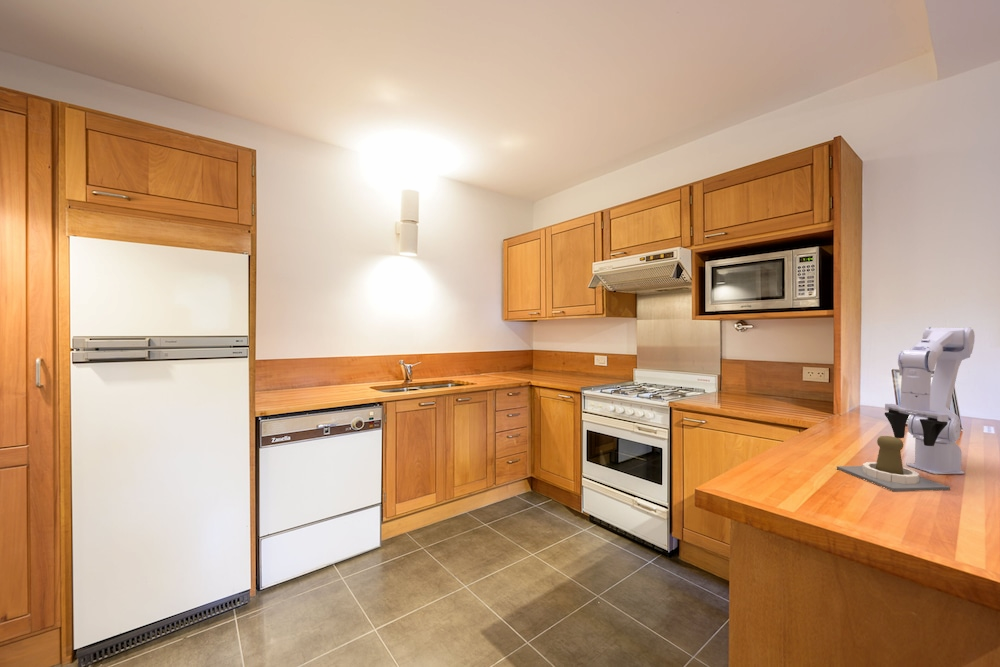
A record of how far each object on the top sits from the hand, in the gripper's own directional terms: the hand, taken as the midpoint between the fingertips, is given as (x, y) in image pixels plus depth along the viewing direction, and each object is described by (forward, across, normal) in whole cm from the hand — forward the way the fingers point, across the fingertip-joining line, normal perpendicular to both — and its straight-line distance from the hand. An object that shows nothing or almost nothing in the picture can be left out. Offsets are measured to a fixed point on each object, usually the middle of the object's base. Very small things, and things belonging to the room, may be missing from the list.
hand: (913, 441), depth 112 cm
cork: (+10, 0, -7) cm, 12 cm away
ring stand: (+10, 0, -6) cm, 12 cm away
